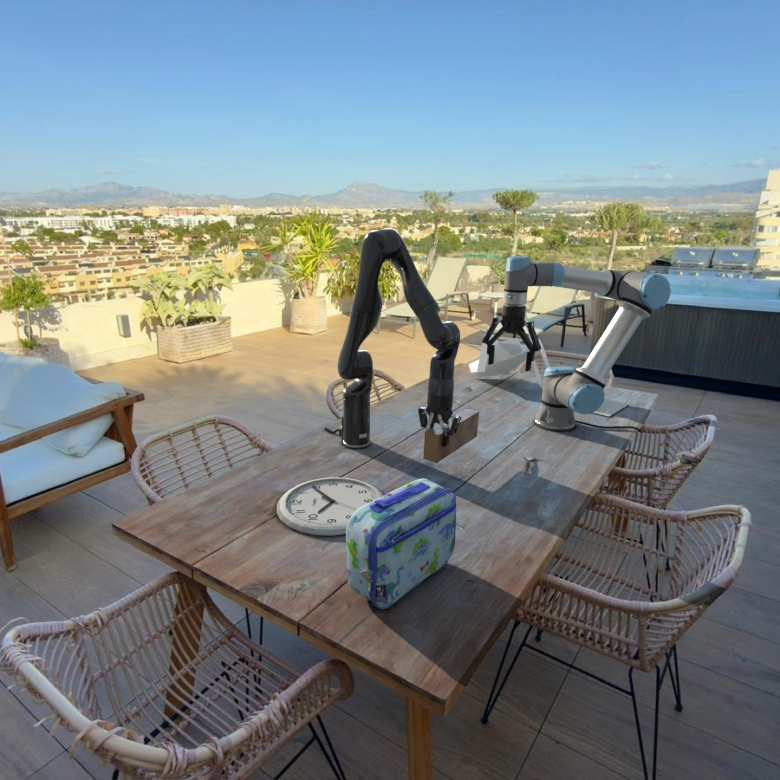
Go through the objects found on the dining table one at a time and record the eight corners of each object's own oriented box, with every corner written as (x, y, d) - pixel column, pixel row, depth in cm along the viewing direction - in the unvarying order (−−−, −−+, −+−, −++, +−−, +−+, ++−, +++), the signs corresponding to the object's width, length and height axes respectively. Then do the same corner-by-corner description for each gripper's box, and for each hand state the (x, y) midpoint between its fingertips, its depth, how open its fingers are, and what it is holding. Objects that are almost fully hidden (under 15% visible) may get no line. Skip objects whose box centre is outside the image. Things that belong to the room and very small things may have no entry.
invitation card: (608, 416, 214) (573, 407, 224) (608, 416, 214) (573, 408, 224) (628, 404, 229) (594, 396, 238) (628, 405, 229) (594, 397, 238)
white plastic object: (490, 419, 265) (470, 397, 240) (471, 347, 287) (451, 319, 262) (561, 395, 253) (548, 369, 228) (536, 321, 275) (521, 290, 250)
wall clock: (392, 527, 129) (268, 531, 127) (391, 533, 130) (269, 537, 127) (383, 473, 158) (282, 475, 155) (383, 478, 158) (282, 480, 156)
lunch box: (375, 622, 100) (376, 527, 94) (339, 595, 108) (338, 505, 101) (459, 565, 118) (465, 481, 112) (424, 545, 125) (427, 465, 119)
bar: (464, 432, 178) (466, 408, 175) (477, 436, 175) (479, 411, 173) (423, 458, 158) (424, 431, 155) (436, 463, 155) (438, 435, 152)
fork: (521, 473, 163) (522, 467, 162) (527, 453, 177) (527, 448, 177) (530, 474, 162) (530, 468, 162) (535, 454, 176) (535, 449, 176)
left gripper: (413, 388, 154) (410, 441, 159) (455, 398, 146) (451, 454, 151) (426, 382, 160) (424, 434, 165) (468, 392, 152) (464, 446, 157)
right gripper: (475, 302, 176) (471, 363, 182) (547, 310, 162) (540, 375, 168) (485, 300, 182) (481, 359, 188) (555, 307, 168) (548, 371, 174)
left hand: (437, 443), depth 158 cm, fingers closed on bar, 4 cm apart
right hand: (508, 367), depth 178 cm, fingers open, 13 cm apart
